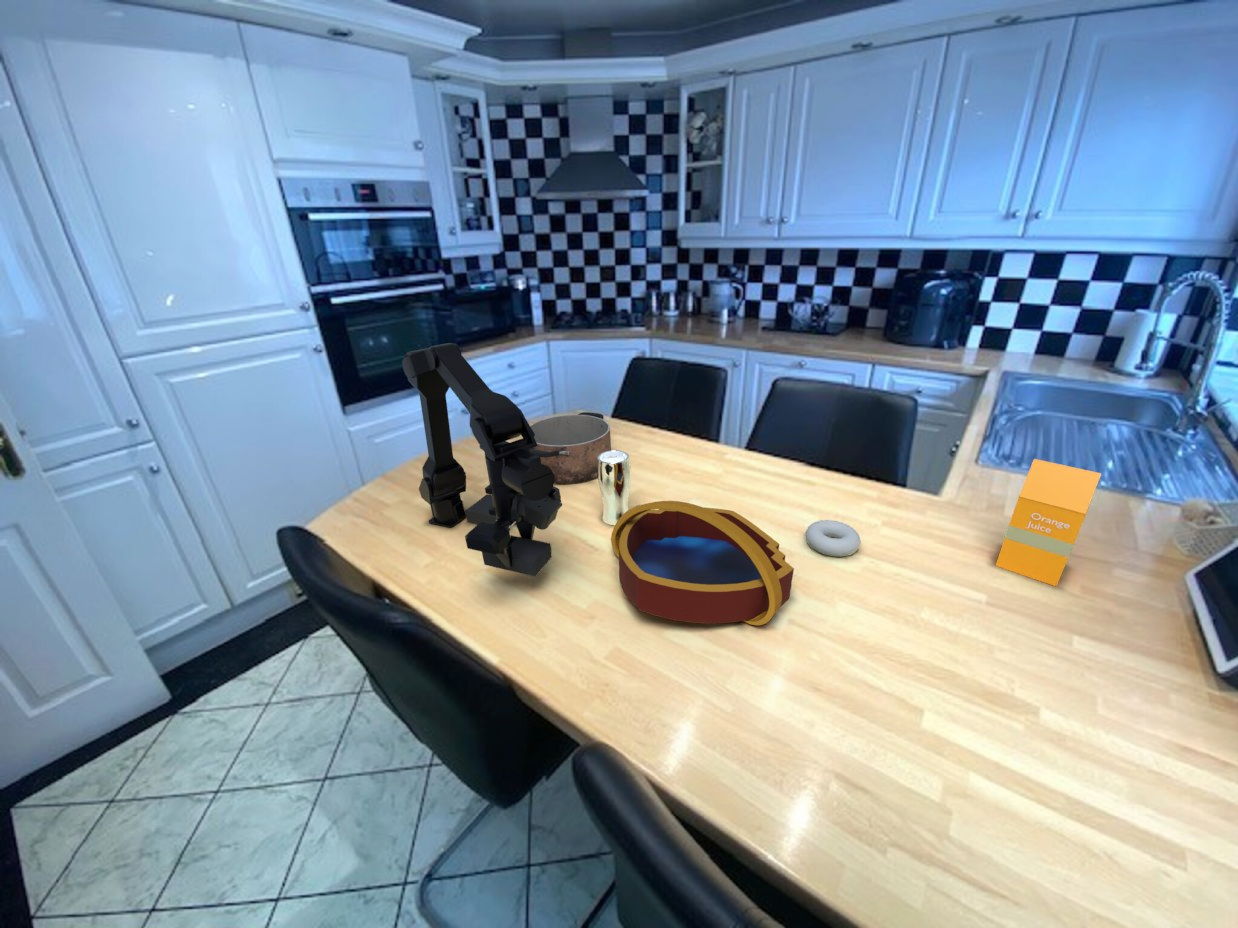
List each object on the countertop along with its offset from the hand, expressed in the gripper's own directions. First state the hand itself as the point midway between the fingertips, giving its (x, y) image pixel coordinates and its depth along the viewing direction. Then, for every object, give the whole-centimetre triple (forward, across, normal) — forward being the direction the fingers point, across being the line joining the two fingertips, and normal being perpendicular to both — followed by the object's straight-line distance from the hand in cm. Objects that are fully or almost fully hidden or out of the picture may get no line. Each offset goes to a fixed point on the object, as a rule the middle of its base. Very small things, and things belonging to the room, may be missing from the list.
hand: (518, 556), depth 90 cm
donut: (+6, +30, -52) cm, 60 cm away
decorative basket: (+6, +10, -29) cm, 31 cm away
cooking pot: (+6, +47, +14) cm, 49 cm away
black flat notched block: (+1, 0, 0) cm, 1 cm away
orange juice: (+6, +34, -85) cm, 92 cm away
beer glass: (+6, +26, -8) cm, 28 cm away
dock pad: (+6, +18, +17) cm, 25 cm away
